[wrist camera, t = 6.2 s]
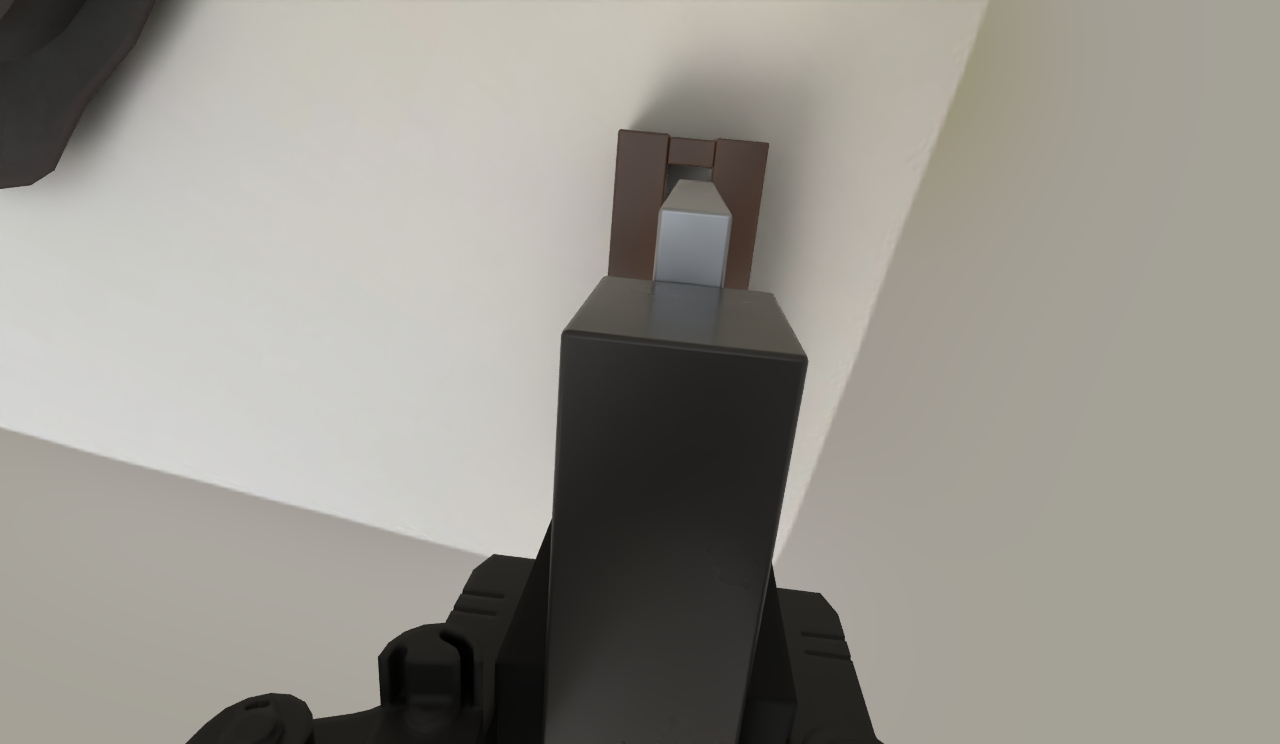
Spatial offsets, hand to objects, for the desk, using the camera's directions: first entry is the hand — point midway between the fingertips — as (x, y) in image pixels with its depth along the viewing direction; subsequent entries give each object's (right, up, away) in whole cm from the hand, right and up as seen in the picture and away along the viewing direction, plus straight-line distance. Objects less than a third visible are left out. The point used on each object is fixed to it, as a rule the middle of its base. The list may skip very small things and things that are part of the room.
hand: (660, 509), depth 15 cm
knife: (+1, +2, +6) cm, 6 cm away
